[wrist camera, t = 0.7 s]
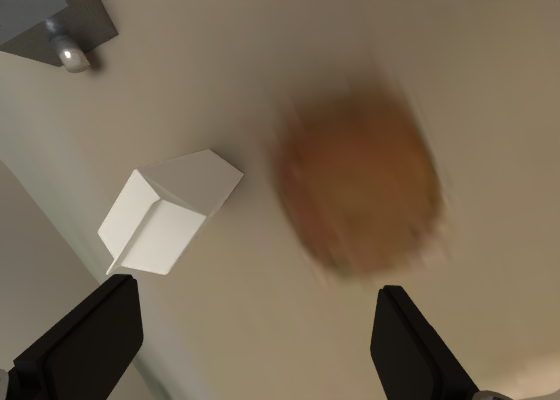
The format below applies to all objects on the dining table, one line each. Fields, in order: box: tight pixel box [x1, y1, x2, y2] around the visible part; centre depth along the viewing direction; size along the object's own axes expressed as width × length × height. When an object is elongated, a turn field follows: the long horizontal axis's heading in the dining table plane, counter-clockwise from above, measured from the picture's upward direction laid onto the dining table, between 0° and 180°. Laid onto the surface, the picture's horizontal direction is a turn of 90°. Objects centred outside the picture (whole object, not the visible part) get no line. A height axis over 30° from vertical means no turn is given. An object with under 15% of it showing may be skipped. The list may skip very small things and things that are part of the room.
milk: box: [98, 149, 244, 275], centre depth 27 cm, size 6×6×22 cm
